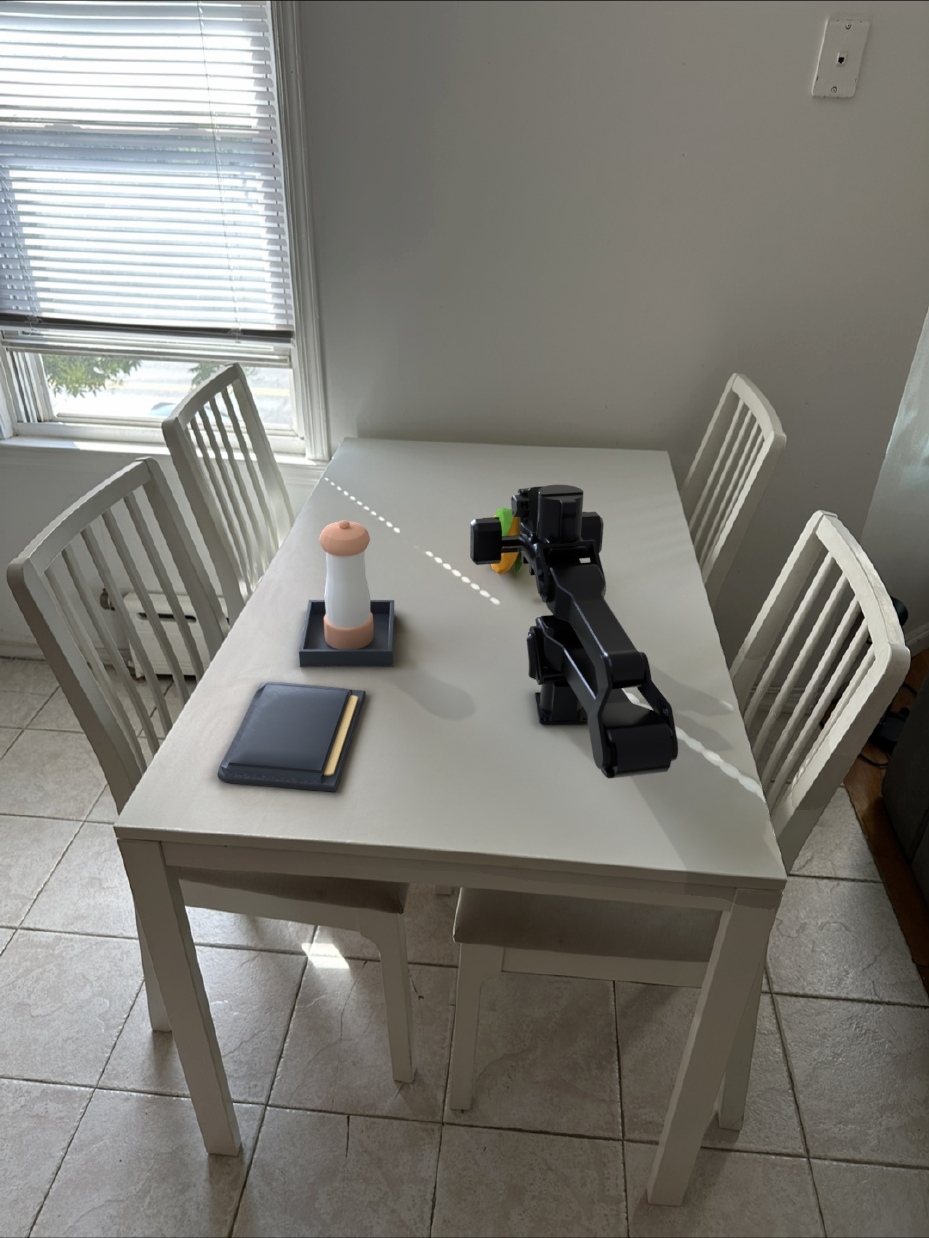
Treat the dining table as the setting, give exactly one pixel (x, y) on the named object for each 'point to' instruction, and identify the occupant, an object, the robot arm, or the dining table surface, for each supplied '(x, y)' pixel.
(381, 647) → the tray
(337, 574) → the pepper shaker
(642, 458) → the dining table surface
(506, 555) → the corn
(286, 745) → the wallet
